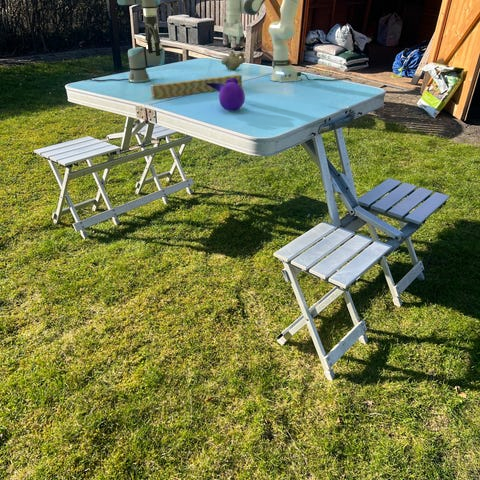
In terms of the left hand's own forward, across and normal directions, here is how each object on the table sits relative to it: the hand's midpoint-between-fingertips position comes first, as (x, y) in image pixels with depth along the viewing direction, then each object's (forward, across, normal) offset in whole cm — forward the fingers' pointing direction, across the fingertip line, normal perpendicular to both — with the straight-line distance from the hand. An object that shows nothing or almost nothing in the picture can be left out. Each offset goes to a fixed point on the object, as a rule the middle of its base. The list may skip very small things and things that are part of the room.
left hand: (154, 54), depth 277 cm
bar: (+26, 0, -28) cm, 39 cm away
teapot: (+26, +61, -88) cm, 110 cm away
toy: (+26, -48, -25) cm, 60 cm away
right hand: (-2, 0, -56) cm, 56 cm away
